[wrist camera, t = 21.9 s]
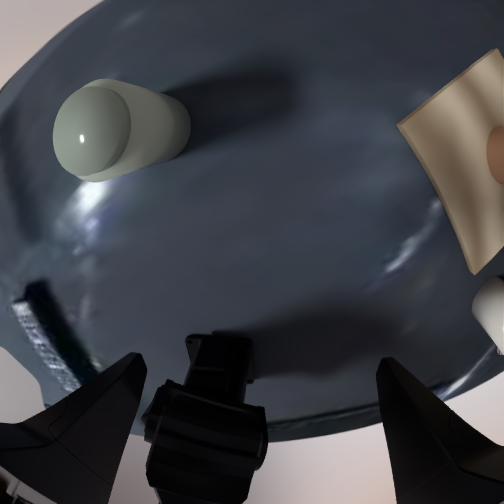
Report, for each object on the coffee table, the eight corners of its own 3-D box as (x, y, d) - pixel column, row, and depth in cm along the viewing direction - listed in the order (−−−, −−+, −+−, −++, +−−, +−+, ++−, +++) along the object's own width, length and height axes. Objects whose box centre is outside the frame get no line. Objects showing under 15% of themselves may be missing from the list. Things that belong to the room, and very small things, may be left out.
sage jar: (193, 159, 19) (135, 178, 11) (130, 167, 19) (53, 192, 11) (189, 89, 17) (128, 61, 9) (125, 102, 17) (45, 96, 9)
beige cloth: (469, 270, 20) (474, 275, 19) (395, 124, 16) (401, 124, 15) (545, 183, 15) (550, 185, 14) (491, 49, 11) (497, 48, 10)
